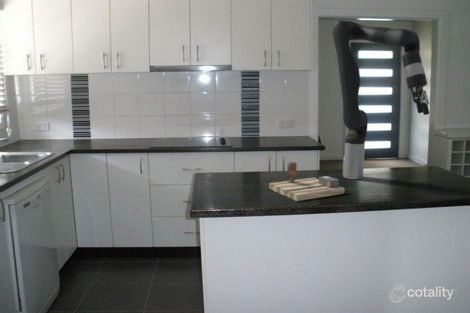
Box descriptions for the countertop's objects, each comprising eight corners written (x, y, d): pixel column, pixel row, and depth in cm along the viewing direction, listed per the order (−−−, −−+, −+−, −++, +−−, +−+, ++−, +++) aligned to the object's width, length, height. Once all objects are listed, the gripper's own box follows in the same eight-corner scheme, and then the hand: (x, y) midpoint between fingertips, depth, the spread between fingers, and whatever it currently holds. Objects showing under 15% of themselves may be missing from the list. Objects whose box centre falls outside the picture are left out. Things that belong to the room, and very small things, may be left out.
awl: (285, 187, 192) (285, 162, 190) (292, 186, 193) (293, 161, 191) (290, 189, 188) (290, 164, 186) (297, 187, 190) (298, 163, 188)
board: (268, 188, 189) (268, 182, 189) (313, 182, 199) (313, 177, 199) (296, 200, 170) (296, 194, 169) (344, 193, 180) (344, 187, 179)
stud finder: (318, 183, 187) (318, 176, 186) (326, 182, 189) (327, 175, 188) (330, 187, 180) (330, 180, 179) (338, 186, 182) (338, 179, 181)
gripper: (411, 81, 184) (419, 117, 182) (401, 76, 173) (409, 114, 171) (429, 75, 180) (437, 112, 178) (420, 70, 169) (429, 109, 167)
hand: (424, 113), depth 174 cm, fingers open, 8 cm apart
